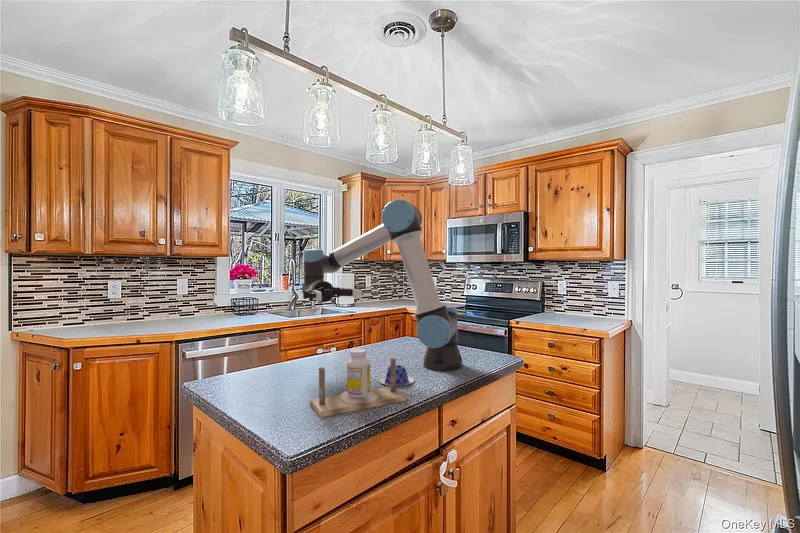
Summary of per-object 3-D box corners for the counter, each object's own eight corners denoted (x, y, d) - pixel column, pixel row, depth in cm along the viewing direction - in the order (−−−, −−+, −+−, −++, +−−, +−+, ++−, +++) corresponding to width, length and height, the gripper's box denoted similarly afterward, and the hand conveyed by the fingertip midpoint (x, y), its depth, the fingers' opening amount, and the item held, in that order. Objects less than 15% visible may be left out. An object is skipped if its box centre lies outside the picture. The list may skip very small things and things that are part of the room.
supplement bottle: (363, 389, 119) (363, 347, 119) (374, 396, 113) (374, 351, 113) (343, 393, 115) (343, 349, 115) (353, 400, 110) (353, 354, 109)
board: (390, 390, 125) (390, 354, 125) (408, 401, 116) (407, 361, 115) (309, 404, 113) (309, 364, 113) (321, 418, 103) (320, 374, 103)
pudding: (414, 387, 129) (414, 371, 128) (377, 387, 129) (377, 371, 129) (414, 377, 141) (413, 362, 140) (380, 377, 141) (380, 362, 141)
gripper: (353, 299, 152) (376, 304, 133) (287, 303, 140) (302, 309, 121) (353, 280, 151) (376, 282, 133) (286, 281, 140) (302, 284, 121)
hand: (341, 295), depth 127 cm, fingers open, 13 cm apart
